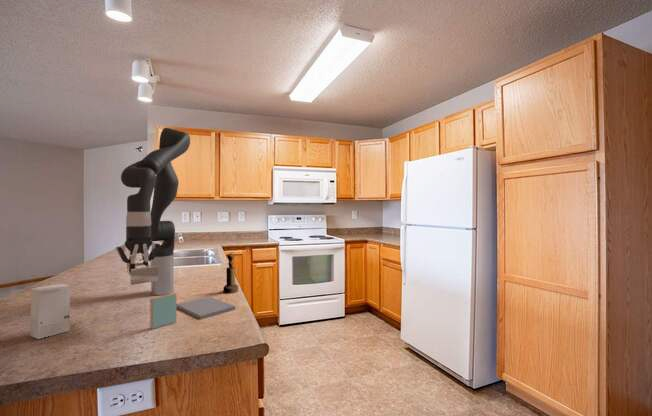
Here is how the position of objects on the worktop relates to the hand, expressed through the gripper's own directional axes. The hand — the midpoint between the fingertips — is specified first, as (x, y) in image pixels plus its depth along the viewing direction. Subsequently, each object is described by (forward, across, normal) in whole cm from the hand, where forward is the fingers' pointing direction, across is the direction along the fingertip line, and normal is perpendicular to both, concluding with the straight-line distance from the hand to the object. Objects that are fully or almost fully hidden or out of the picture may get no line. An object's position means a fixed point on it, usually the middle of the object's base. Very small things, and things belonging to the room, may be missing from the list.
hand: (138, 273), depth 110 cm
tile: (+16, -4, +12) cm, 21 cm away
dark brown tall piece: (+17, -41, -9) cm, 45 cm away
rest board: (+16, -22, +6) cm, 28 cm away
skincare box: (+17, +23, -7) cm, 29 cm away
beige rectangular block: (+2, 0, 0) cm, 2 cm away
